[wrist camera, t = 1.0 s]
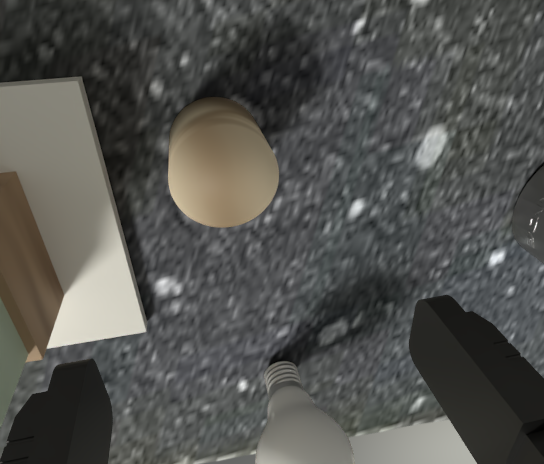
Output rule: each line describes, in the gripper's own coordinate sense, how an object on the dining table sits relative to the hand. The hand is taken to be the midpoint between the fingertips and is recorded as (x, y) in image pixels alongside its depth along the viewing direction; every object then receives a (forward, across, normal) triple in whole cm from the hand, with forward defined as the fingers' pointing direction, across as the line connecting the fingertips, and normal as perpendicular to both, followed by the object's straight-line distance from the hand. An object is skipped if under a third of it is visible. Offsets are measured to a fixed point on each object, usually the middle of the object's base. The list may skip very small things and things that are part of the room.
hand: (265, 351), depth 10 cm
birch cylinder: (+15, 0, 0) cm, 15 cm away
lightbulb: (+15, -3, +19) cm, 25 cm away
